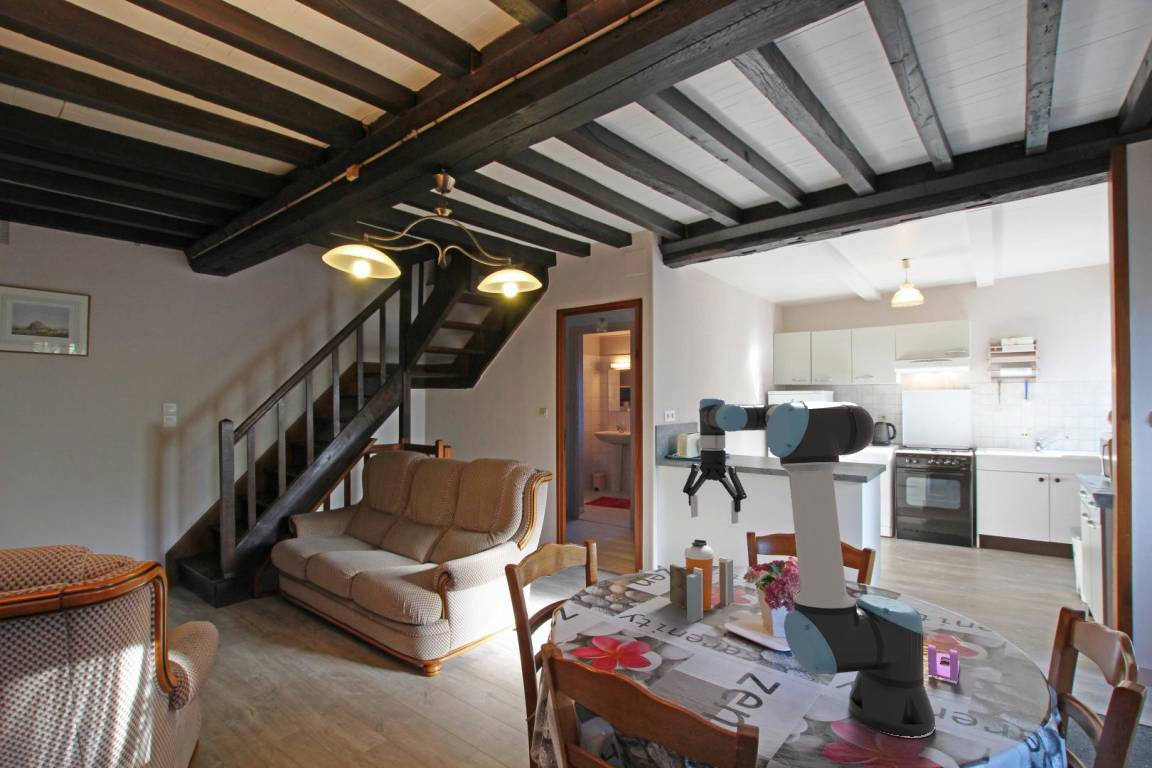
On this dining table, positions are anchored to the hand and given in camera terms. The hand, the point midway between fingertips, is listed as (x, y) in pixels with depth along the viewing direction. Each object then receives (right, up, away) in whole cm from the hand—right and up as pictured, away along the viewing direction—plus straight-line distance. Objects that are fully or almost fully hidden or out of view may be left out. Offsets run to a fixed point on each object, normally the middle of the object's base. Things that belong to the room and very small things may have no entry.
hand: (714, 520), depth 163 cm
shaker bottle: (-3, -29, +6) cm, 29 cm away
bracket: (+46, -28, -34) cm, 64 cm away
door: (-7, -28, +4) cm, 29 cm away
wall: (0, -28, +2) cm, 28 cm away
